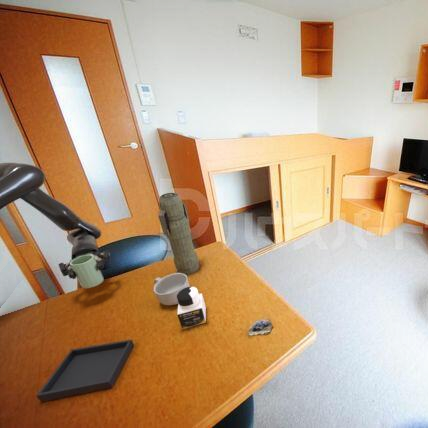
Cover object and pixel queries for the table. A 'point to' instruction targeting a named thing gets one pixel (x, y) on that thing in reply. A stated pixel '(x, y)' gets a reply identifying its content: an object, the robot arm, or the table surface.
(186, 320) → the medicine bottle
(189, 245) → the thermos
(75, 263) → the celadon cup
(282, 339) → the table surface
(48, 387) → the tray
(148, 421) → the table surface
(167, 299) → the teacup
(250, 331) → the blueberries
